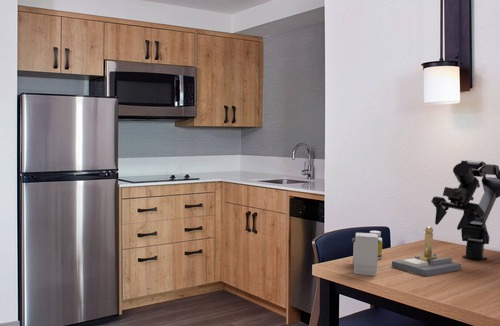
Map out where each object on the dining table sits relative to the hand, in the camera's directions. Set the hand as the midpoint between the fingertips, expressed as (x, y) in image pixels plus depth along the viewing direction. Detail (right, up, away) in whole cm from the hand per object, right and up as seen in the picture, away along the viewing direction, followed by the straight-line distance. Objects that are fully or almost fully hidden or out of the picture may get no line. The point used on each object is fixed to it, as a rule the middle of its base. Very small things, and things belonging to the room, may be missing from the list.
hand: (446, 226), depth 194 cm
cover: (-14, -12, -9) cm, 20 cm away
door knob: (-9, -12, -5) cm, 15 cm away
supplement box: (-32, -14, -13) cm, 37 cm away
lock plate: (-9, -14, -5) cm, 17 cm away
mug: (-30, -13, -2) cm, 32 cm away
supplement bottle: (-24, -13, +9) cm, 28 cm away
